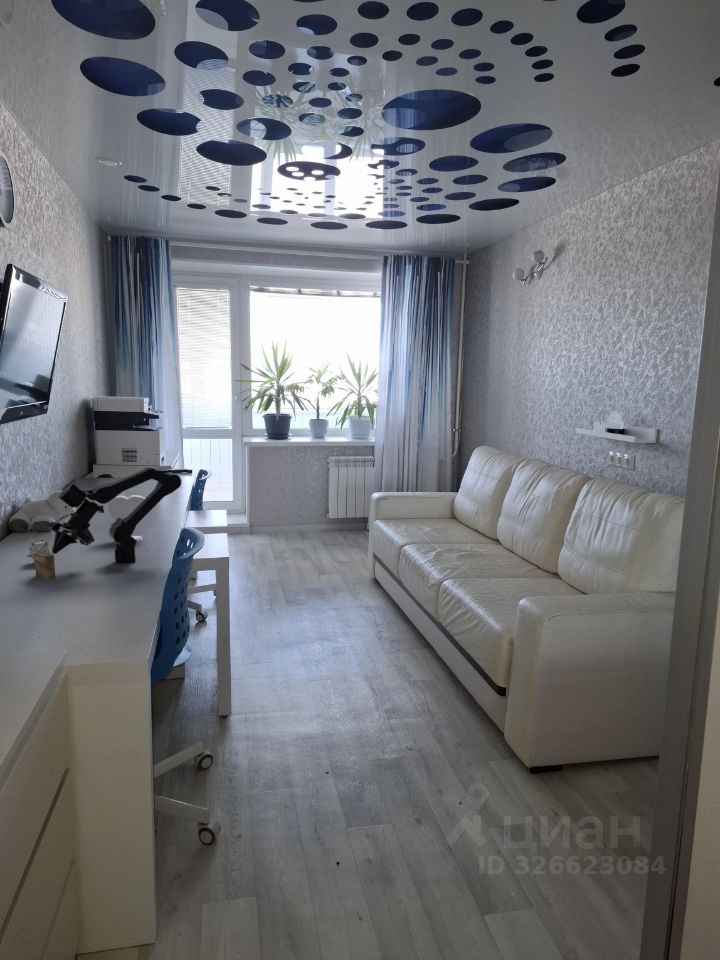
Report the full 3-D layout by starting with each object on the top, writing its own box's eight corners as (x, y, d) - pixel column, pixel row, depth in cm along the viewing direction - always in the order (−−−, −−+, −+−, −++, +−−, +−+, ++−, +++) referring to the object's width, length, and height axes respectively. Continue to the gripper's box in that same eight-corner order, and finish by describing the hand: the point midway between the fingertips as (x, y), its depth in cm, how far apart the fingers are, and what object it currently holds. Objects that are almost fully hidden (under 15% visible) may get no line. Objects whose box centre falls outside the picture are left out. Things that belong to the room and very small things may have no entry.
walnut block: (44, 574, 219) (43, 551, 217) (55, 578, 214) (53, 554, 213) (35, 576, 216) (34, 553, 215) (46, 580, 212) (44, 556, 211)
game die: (37, 574, 231) (17, 555, 225) (41, 559, 238) (22, 541, 232) (59, 562, 230) (39, 543, 225) (62, 548, 237) (43, 529, 232)
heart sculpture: (108, 541, 263) (106, 497, 261) (109, 538, 268) (107, 495, 265) (148, 538, 268) (147, 496, 265) (148, 536, 273) (147, 494, 270)
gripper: (113, 533, 224) (85, 571, 217) (84, 525, 235) (56, 561, 228) (91, 514, 216) (61, 553, 209) (62, 507, 227) (32, 543, 220)
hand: (53, 553), depth 217 cm, fingers closed
